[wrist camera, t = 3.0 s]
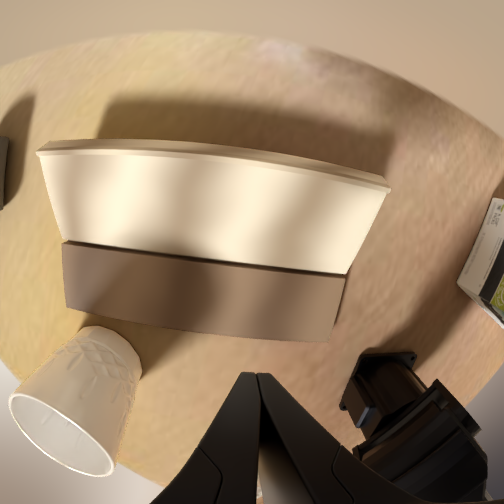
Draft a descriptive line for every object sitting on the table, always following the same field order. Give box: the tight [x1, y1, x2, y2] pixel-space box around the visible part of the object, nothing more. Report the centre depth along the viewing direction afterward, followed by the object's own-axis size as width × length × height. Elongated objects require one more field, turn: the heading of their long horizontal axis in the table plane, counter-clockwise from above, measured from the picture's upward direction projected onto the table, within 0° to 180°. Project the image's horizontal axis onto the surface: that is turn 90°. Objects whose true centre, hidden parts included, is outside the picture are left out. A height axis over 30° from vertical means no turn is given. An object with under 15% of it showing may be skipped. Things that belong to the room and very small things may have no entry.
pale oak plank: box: [36, 139, 391, 274], centre depth 15 cm, size 20×7×2 cm, turn 82°
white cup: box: [8, 325, 142, 477], centre depth 15 cm, size 8×8×10 cm
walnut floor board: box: [62, 240, 346, 343], centre depth 18 cm, size 20×5×1 cm, turn 82°
